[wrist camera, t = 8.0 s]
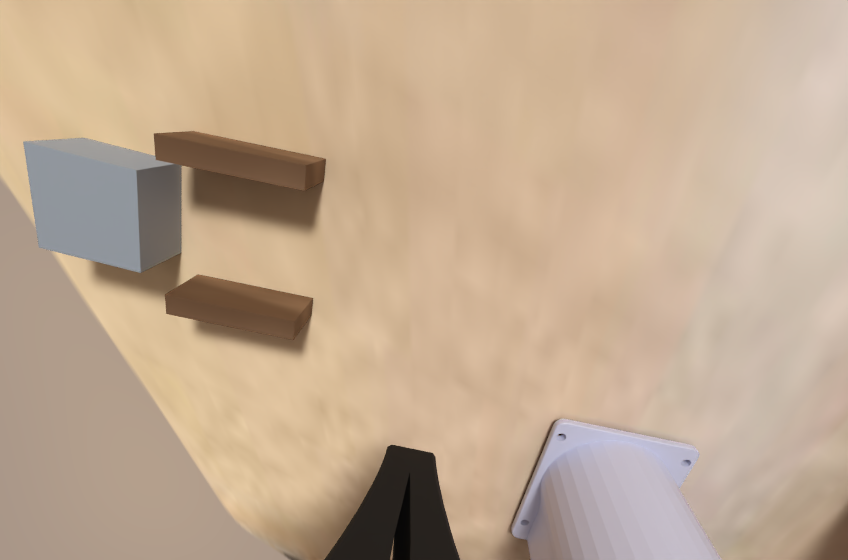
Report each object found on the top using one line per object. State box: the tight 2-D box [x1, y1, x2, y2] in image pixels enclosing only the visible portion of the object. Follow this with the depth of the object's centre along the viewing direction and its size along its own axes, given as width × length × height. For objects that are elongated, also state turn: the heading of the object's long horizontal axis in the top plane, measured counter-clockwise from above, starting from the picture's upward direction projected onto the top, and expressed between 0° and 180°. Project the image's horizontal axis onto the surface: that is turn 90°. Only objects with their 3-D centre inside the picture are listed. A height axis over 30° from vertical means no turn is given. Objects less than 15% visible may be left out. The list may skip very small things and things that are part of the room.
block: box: [23, 138, 181, 273], centre depth 18 cm, size 4×4×3 cm
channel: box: [154, 131, 326, 340], centre depth 18 cm, size 8×6×2 cm
